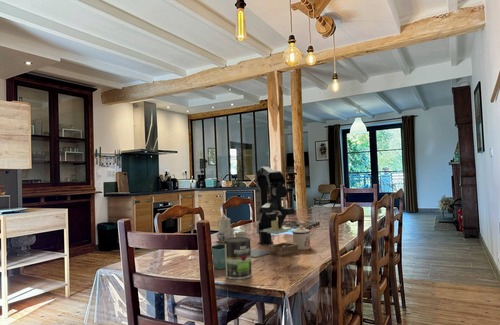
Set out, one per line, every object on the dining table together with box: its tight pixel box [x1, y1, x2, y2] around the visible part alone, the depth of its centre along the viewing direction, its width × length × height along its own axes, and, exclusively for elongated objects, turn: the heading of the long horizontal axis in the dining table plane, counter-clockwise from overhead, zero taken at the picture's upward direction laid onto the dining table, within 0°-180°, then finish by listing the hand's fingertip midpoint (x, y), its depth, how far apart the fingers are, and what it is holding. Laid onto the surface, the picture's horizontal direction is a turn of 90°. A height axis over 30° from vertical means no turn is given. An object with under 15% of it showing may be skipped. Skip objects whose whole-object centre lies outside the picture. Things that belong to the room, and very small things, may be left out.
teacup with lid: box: [291, 225, 311, 251], centre depth 175 cm, size 12×9×12 cm
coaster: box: [251, 248, 271, 259], centre depth 166 cm, size 12×12×1 cm
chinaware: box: [216, 213, 249, 243], centre depth 206 cm, size 28×17×17 cm, turn 35°
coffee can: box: [223, 236, 253, 280], centre depth 131 cm, size 10×10×14 cm
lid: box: [263, 219, 293, 235], centre depth 165 cm, size 9×11×6 cm
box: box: [268, 241, 299, 258], centre depth 164 cm, size 9×11×4 cm
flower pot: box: [211, 243, 226, 270], centre depth 144 cm, size 9×9×9 cm
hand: (277, 228), depth 165 cm, fingers closed on lid, 3 cm apart
